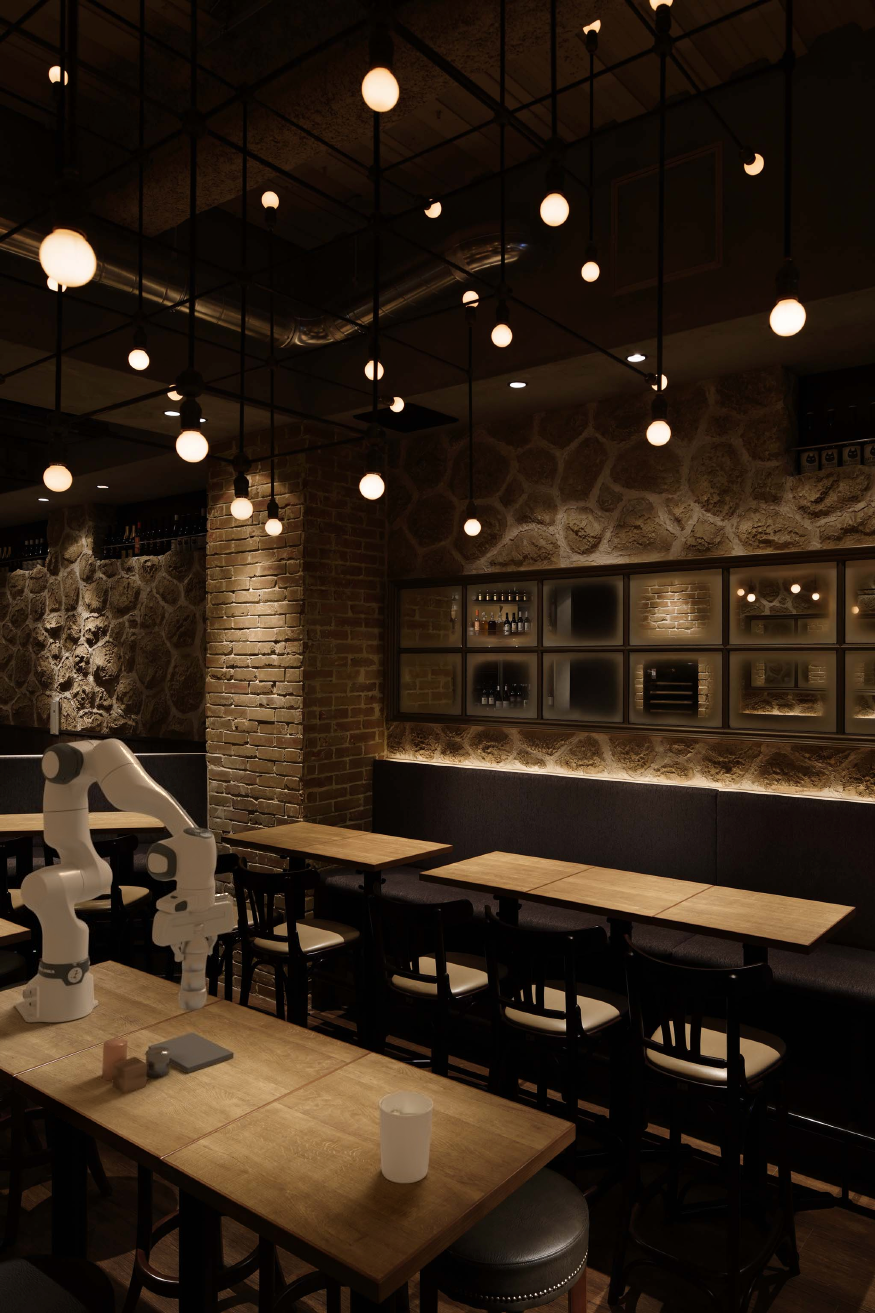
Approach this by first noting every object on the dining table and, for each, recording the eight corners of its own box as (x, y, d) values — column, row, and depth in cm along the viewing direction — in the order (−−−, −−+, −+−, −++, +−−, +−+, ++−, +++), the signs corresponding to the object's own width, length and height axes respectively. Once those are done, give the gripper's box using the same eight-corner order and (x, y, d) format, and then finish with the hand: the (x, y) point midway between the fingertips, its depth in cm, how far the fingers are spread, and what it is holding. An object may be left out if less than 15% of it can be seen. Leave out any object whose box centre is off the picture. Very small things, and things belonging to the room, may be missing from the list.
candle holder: (376, 1157, 164) (378, 1091, 164) (429, 1156, 165) (431, 1090, 165) (377, 1187, 154) (379, 1116, 155) (433, 1186, 155) (435, 1115, 155)
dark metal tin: (141, 1073, 197) (142, 1050, 197) (162, 1067, 200) (163, 1045, 201) (151, 1081, 193) (152, 1058, 194) (172, 1074, 197) (173, 1052, 197)
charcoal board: (148, 1051, 209) (148, 1046, 209) (192, 1037, 218) (193, 1032, 218) (188, 1073, 198) (188, 1068, 198) (233, 1057, 206) (233, 1052, 207)
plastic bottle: (210, 1003, 212) (214, 920, 212) (200, 1015, 205) (204, 929, 205) (184, 1001, 212) (187, 918, 212) (173, 1012, 206) (177, 926, 206)
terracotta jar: (97, 1075, 196) (99, 1042, 196) (119, 1068, 199) (120, 1037, 200) (108, 1082, 192) (110, 1049, 193) (130, 1075, 196) (131, 1043, 196)
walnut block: (112, 1087, 190) (113, 1063, 190) (133, 1080, 194) (134, 1056, 194) (124, 1094, 187) (125, 1070, 187) (145, 1087, 191) (146, 1063, 191)
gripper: (225, 889, 219) (223, 946, 219) (149, 902, 204) (147, 963, 203) (240, 893, 215) (238, 951, 214) (164, 907, 200) (162, 969, 199)
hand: (193, 957), depth 209 cm, fingers closed on plastic bottle, 6 cm apart
